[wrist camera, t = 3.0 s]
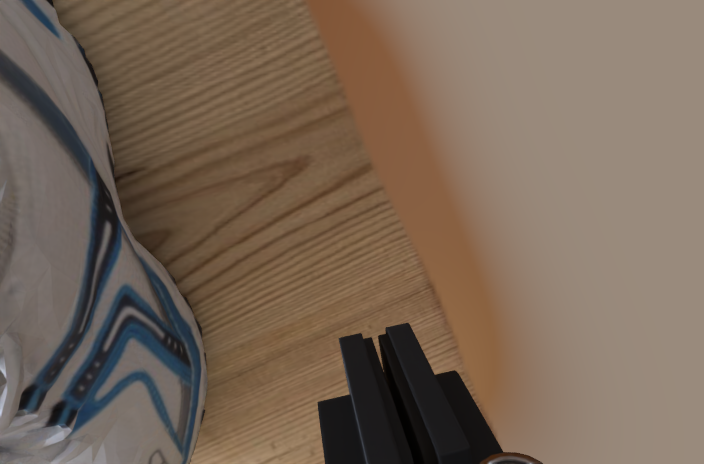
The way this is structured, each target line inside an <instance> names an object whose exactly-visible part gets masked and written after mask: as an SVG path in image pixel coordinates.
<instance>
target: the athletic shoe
mask: <svg viewBox="0 0 704 464" xmlns="http://www.w3.org/2000/svg"><path fill="white" fill-rule="evenodd" d="M97 86H98V80H97V78H96V75H95V72H94V70H93V67H92V65H91V63H90V62H89V61H88V59H87V58H86V55H85V52H84V49H83V48H82V47H81V45H80V44H79V43H78V41H77V40H76V39H75V37H73V36H72V35H71V34H70V33H69V32H68V31H67V30H66V29H64V28H63V27H62V26H61V25H60V24H59V20H58V17H57V13H56V10H55V9H54V6H53V2H52V0H0V464H190V462H191V457H192V455H193V452H194V449H195V446H196V442H197V438H198V434H199V431H200V427H201V423H202V420H203V417H204V413H205V410H204V402H205V398H206V394H207V367H206V353H205V352H204V346H203V342H202V330H201V326H200V325H199V323H198V322H197V320H196V318H195V317H194V315H193V311H192V309H191V306H190V304H189V302H188V300H187V298H185V297H183V296H181V294H180V293H179V291H178V289H177V287H176V284H175V279H174V278H173V277H172V275H171V274H170V273H169V272H168V271H167V270H166V269H165V268H164V266H163V265H162V264H161V263H160V262H159V261H158V260H157V259H156V258H155V257H154V256H153V255H152V254H151V253H150V252H148V251H147V250H146V249H145V248H144V247H143V246H142V245H141V244H140V243H139V242H138V241H137V240H136V239H135V238H134V237H133V235H132V233H131V231H130V229H129V227H128V225H127V223H126V221H125V219H124V218H123V215H122V210H121V205H120V201H119V196H118V192H117V188H116V184H115V178H114V167H115V161H114V157H113V153H112V148H111V143H110V138H109V131H108V124H107V119H106V114H105V109H104V104H103V99H102V94H101V93H100V92H99V90H98V89H97Z"/></svg>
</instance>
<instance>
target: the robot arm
mask: <svg viewBox="0 0 704 464" xmlns="http://www.w3.org/2000/svg"><path fill="white" fill-rule="evenodd" d="M378 339H379V346H380V352H381V358H382V364H383V369H382V366H381V363H380V360H379V357H378V354H377V352H376V349H375V346H374V343H373V340H372V338H371V337H370V338H366V339H363V337H362V334H361V333H359V334H355V335H350V336H346V337H341V338H339V342H340V348H341V353H342V358H343V363H344V368H345V373H346V378H347V383H348V388H349V393H350V395H346V396H341V397H337V398H333V399H329V400H324V401H320V402H318V411H319V419H320V427H321V435H322V443H323V450H324V458H325V464H543V463H542V462H540V461H538V460H536V459H534V458H532V457H530V456H528V455H524V454H520V453H509V452H503V451H502V449H501V447H500V445H499V444H498V442H497V440H496V438H495V437H494V435H493V433H492V431H491V430H490V428H489V426H488V424H487V423H486V421H485V419H484V417H483V416H482V414H481V412H480V410H479V409H478V407H477V405H476V403H475V402H474V400H473V398H472V396H471V395H470V393H469V391H468V389H467V388H466V386H465V384H464V382H463V381H462V379H461V377H460V376H459V374H458V373H457V372H456V371H455V370H454V371H450V372H445V373H441V374H437V375H434V373H433V371H432V369H431V367H430V364H429V362H428V360H427V358H426V356H425V354H424V352H423V350H422V348H421V346H420V344H419V342H418V340H417V338H416V336H415V334H414V332H413V330H412V328H411V326H410V324H409V323H404V324H400V325H395V326H391V327H386V334H384V335H379V336H378ZM383 370H384V372H383Z"/></svg>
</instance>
